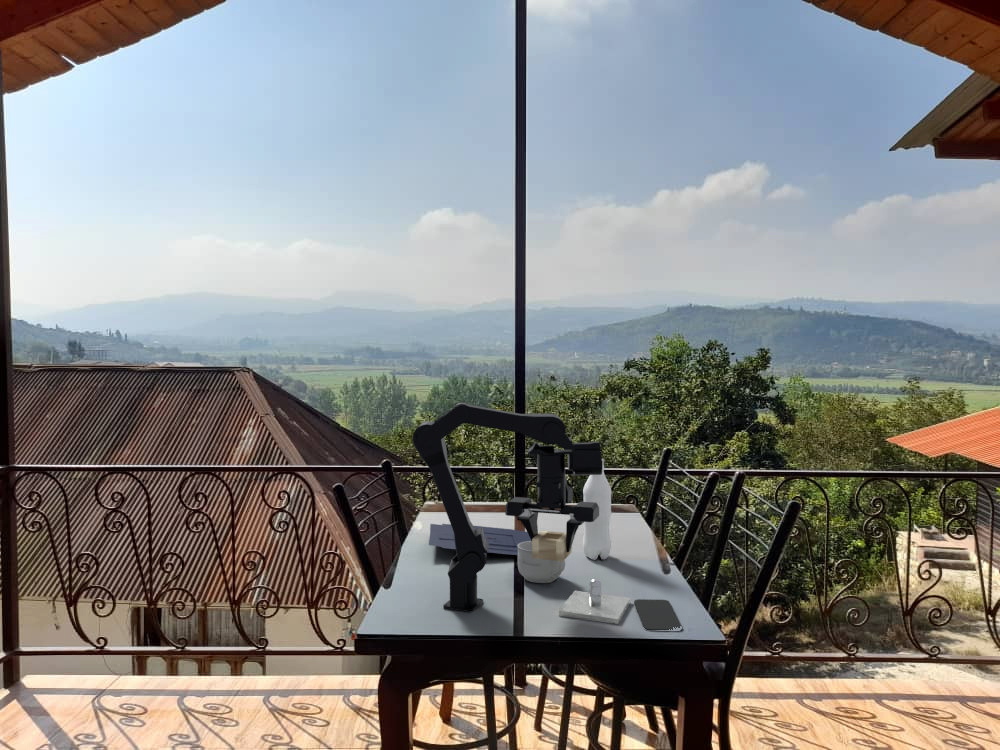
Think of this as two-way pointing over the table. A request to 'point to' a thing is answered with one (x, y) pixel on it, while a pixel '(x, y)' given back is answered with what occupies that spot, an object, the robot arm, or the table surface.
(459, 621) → the table surface
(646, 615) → the phone
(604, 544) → the water bottle
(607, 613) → the stand
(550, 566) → the teacup
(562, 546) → the collar
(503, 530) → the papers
